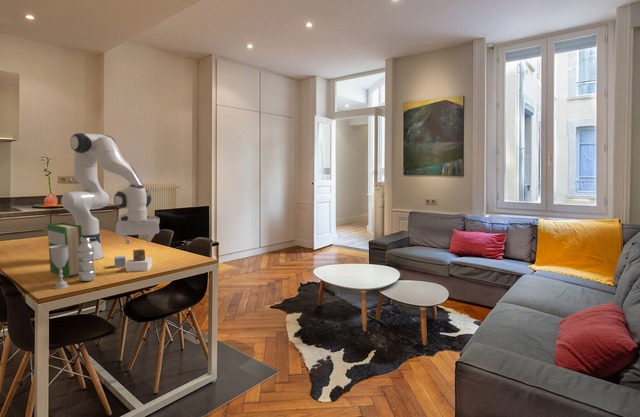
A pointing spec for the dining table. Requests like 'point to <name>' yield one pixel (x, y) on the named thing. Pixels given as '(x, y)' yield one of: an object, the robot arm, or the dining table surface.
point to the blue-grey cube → (120, 261)
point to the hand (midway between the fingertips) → (138, 243)
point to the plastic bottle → (86, 260)
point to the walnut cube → (139, 255)
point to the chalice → (60, 262)
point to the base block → (138, 265)
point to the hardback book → (65, 236)
